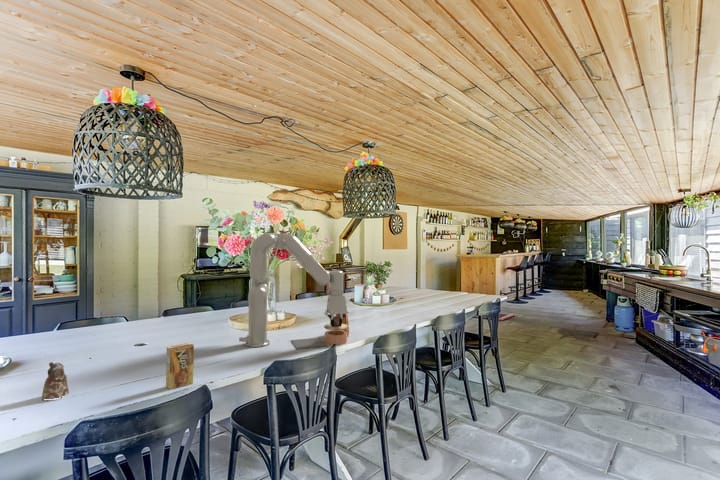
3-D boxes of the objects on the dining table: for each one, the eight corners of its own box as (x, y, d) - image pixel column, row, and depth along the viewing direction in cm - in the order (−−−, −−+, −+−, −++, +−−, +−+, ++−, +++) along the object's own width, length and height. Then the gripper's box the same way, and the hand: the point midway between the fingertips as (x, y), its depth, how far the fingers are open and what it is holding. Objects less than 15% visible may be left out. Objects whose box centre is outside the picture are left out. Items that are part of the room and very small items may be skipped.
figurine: (50, 402, 128) (50, 367, 128) (37, 399, 130) (37, 364, 130) (72, 394, 134) (73, 361, 134) (60, 391, 137) (60, 358, 137)
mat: (297, 349, 192) (297, 348, 192) (291, 341, 207) (291, 340, 207) (327, 346, 198) (327, 345, 198) (319, 338, 213) (319, 337, 213)
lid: (328, 331, 198) (328, 320, 198) (321, 325, 211) (321, 315, 210) (351, 329, 203) (351, 318, 203) (343, 323, 215) (343, 313, 215)
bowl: (328, 345, 199) (328, 336, 199) (322, 339, 210) (322, 331, 210) (349, 343, 204) (349, 334, 204) (342, 338, 215) (342, 329, 215)
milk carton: (348, 336, 218) (349, 302, 218) (332, 336, 218) (333, 302, 218) (349, 332, 227) (350, 299, 227) (334, 332, 228) (334, 299, 227)
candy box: (189, 380, 149) (189, 342, 149) (193, 383, 146) (194, 344, 146) (165, 386, 142) (166, 346, 142) (169, 390, 140) (170, 349, 139)
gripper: (323, 294, 200) (323, 328, 200) (352, 293, 206) (352, 326, 206) (320, 292, 207) (319, 325, 207) (348, 291, 213) (348, 323, 213)
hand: (336, 325), depth 207 cm, fingers closed on lid, 3 cm apart
